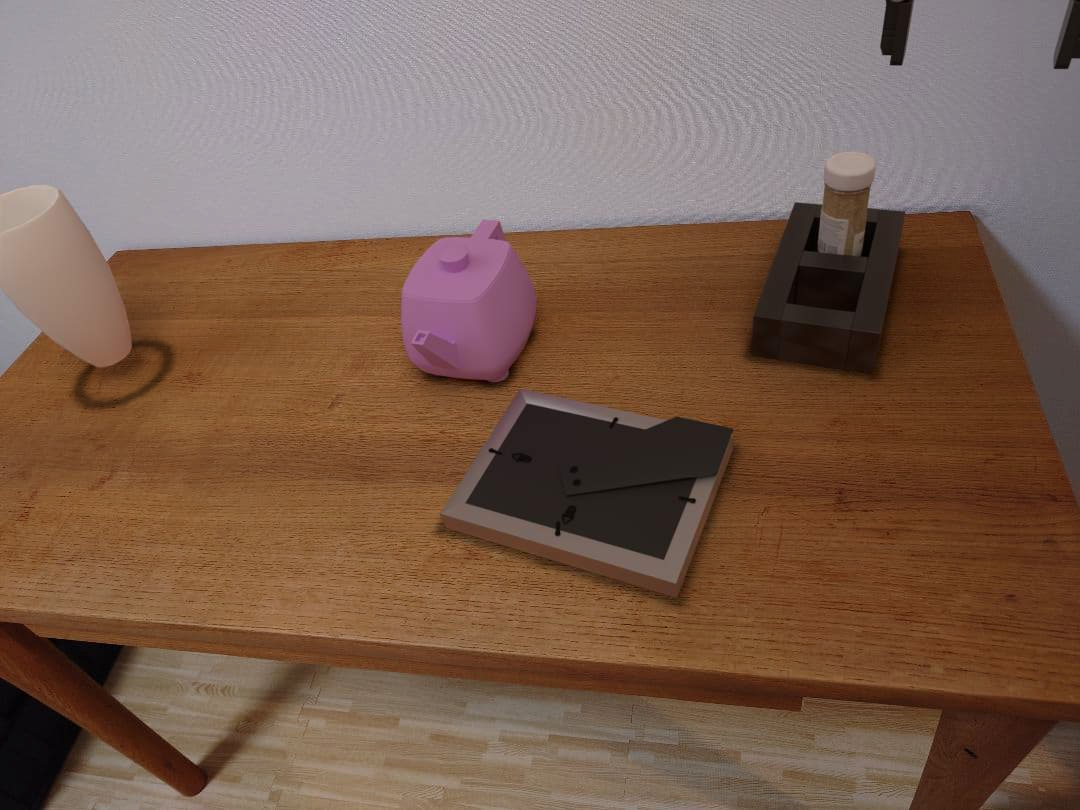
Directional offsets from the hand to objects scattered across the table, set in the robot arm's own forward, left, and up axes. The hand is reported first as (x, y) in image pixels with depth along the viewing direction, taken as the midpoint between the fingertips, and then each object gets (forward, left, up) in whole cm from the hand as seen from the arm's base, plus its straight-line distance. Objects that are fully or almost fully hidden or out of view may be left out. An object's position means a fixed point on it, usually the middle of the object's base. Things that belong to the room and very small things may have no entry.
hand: (976, 62), depth 47 cm
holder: (+8, -17, -32) cm, 37 cm away
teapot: (+41, -1, -32) cm, 52 cm away
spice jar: (+8, -21, -32) cm, 39 cm away
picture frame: (+23, +13, -32) cm, 42 cm away
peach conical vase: (+81, +12, -32) cm, 88 cm away
